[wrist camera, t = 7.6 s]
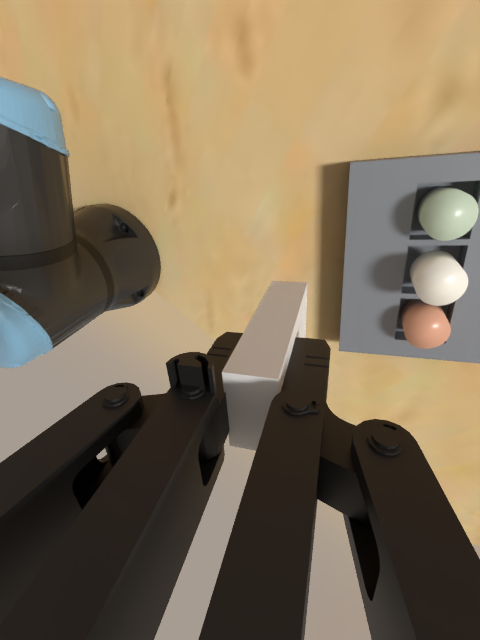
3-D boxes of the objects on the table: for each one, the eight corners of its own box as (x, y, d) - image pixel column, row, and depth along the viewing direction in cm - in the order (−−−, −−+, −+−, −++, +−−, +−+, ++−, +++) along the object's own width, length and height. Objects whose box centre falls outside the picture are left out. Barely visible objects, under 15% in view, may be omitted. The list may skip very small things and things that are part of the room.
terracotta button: (398, 329, 41) (401, 346, 37) (403, 296, 39) (407, 311, 35) (438, 332, 39) (446, 350, 36) (446, 298, 37) (454, 314, 34)
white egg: (406, 289, 36) (411, 304, 33) (413, 250, 34) (418, 262, 31) (452, 290, 35) (462, 306, 32) (461, 250, 33) (473, 262, 30)
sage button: (413, 231, 35) (419, 240, 32) (419, 187, 33) (426, 192, 30) (460, 230, 34) (472, 240, 30) (470, 184, 32) (484, 189, 28)
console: (339, 339, 45) (338, 350, 43) (350, 161, 35) (350, 162, 33) (496, 351, 40) (505, 365, 37) (561, 144, 30) (580, 144, 27)
